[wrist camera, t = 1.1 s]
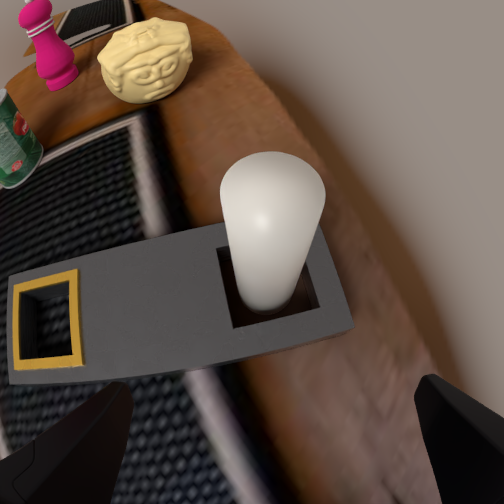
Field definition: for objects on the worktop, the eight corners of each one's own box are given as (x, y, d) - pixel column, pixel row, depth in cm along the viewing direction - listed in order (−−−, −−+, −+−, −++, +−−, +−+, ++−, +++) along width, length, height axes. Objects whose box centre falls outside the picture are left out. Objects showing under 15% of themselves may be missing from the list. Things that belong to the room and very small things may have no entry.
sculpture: (124, 128, 32) (95, 56, 22) (107, 89, 36) (85, 31, 26) (209, 91, 34) (199, 17, 24) (176, 60, 38) (165, 1, 28)
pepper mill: (54, 77, 41) (21, -2, 22) (85, 65, 41) (55, -20, 23) (42, 98, 38) (0, 12, 19) (74, 85, 38) (36, -9, 20)
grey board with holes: (307, 220, 26) (312, 202, 23) (345, 333, 21) (356, 326, 19) (24, 285, 23) (7, 274, 21) (27, 386, 19) (7, 383, 17)
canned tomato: (53, 144, 32) (17, 84, 22) (21, 192, 28) (-27, 135, 18) (23, 142, 33) (-11, 91, 23) (-6, 185, 29) (-48, 137, 19)
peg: (296, 311, 22) (337, 229, 11) (241, 318, 22) (224, 242, 11) (288, 260, 24) (312, 148, 13) (235, 266, 24) (217, 156, 13)
